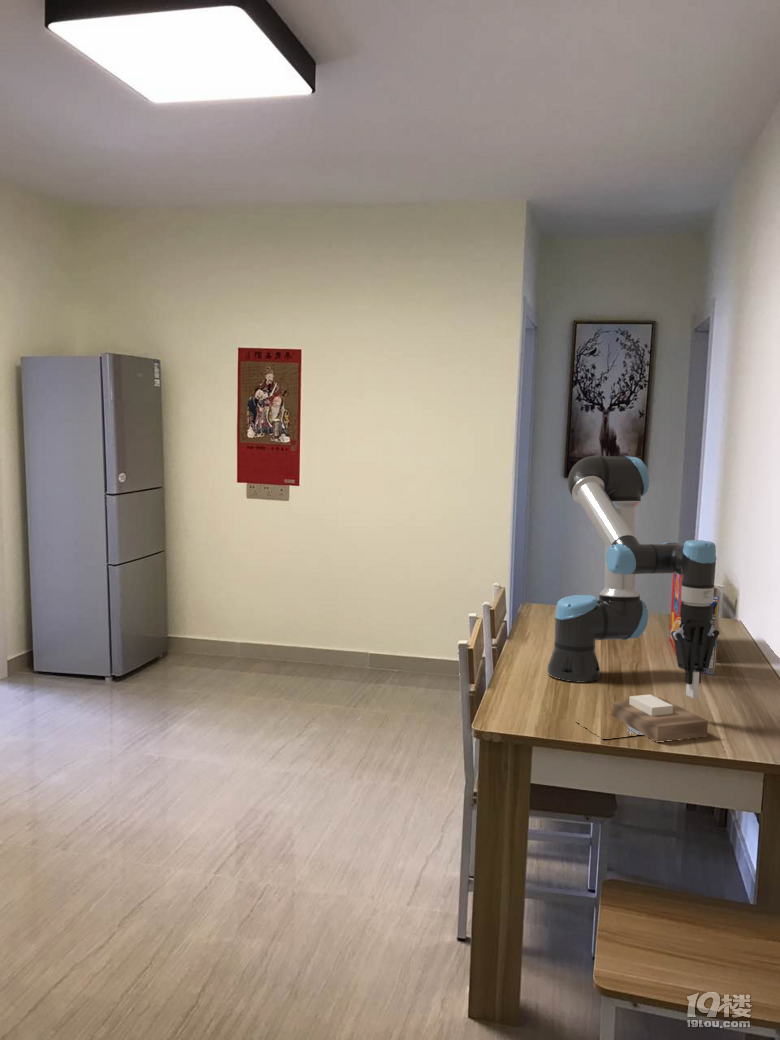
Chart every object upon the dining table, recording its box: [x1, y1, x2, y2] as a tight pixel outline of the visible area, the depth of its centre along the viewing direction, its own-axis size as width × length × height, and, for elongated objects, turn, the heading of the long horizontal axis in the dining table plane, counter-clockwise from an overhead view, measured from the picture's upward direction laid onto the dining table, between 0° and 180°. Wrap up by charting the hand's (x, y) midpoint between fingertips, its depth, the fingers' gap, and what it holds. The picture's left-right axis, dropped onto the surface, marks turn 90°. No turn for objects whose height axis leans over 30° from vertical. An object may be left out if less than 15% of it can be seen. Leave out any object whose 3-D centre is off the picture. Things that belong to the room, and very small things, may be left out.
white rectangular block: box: [628, 693, 673, 716], centre depth 203 cm, size 9×6×2 cm, turn 19°
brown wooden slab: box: [612, 696, 709, 741], centre depth 202 cm, size 18×14×4 cm
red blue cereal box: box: [668, 573, 684, 655], centre depth 274 cm, size 28×8×28 cm, turn 167°
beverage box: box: [701, 595, 720, 676], centre depth 252 cm, size 7×11×22 cm, turn 156°
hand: (691, 696), depth 207 cm, fingers closed
